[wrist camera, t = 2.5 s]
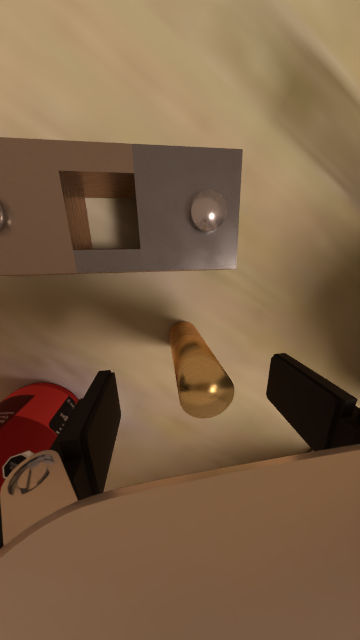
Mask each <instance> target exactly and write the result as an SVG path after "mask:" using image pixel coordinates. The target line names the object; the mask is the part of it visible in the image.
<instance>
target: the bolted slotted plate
mask: <svg viewBox="0 0 360 640" xmlns="http://www.w3.org/2000/svg"><path fill="white" fill-rule="evenodd" d="M242 151H243V149H225V148H205V147H185V146H165V145H144V144H124V143H104V142H84V141H63V140H43V139H23V138H3V137H0V276H23V275H57V274H92V273H127V272H162V271H196V270H224V269H236V260H237V242H238V224H239V205H240V187H241V169H242ZM85 198H136V201H137V213H138V225H139V237H140V249H113V250H93V249H92V243H91V236H90V230H89V223H88V217H87V210H86V204H85Z"/></svg>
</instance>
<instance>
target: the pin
mask: <svg viewBox="0 0 360 640" xmlns="http://www.w3.org/2000/svg"><path fill="white" fill-rule="evenodd" d="M169 338H170V344H171V350H172V356H173V363H174V369H175V375H176V381H177V387H178V394H179V400H180V404H181V406H182V408H183V410H184V411H185V412H186V413H188V414H189V415H191V416H193V417H196V418H210V417H214V416H216V415H218V414H220V413H222V412H223V411H224V410H225V409H226V408H227V407H228V406H229V405H230V403H231V402H232V400H233V397H234V386H233V383H232V381H231V379H230V378H229V376H228V375H227V373H226V372H225V371H224V369H223V368H222V366H221V365H220V363H219V362H218V360H217V359H216V357H215V356H214V354H213V353H212V351H211V350H210V348H209V347H208V345H207V344H206V343H205V341H204V340H203V338H202V337H201V335H200V334H199V332H198V331H197V329H196V328H195V326H194V325H193V324H191V323H189V322H179V323H177V324H175V325H174V326H173V327H172V328H171V330H170V333H169Z"/></svg>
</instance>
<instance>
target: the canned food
mask: <svg viewBox="0 0 360 640" xmlns="http://www.w3.org/2000/svg"><path fill="white" fill-rule="evenodd" d="M78 401H79V400H78V399H77V398H76V396H75V395H74V394H73V393H71V392H70V391H69V390H67V389H66V388H63V387H61V386H59V385H55V384H52V383H35V384H30V385H28V386H25V387H23V388H20V389H18V390H16V391H15V392H13V393H11V394H10V395H9V396H8V397H6V398H5V399H4V400H3V401H1V402H0V492H1V487H2V485H3V483H4V481H5V479H6V478H7V477H8V475H9V474H10V473H11V472H12V470H14V469H15V468H16V467H17V466H18V465H19V464H20V463H21V462H23V461H24V460H25V459H27V458H28V457H30V456H32V455H34V454H36V453H38V452H41V451H44V450H49V449H50V448H51V446H52V444H53V442H54V441H55V439H56V437H57V436H58V434H59V432H60V431H61V429H62V427H63V426H64V424H65V422H66V421H67V419H68V417H69V415H70V414H71V412H72V410H73V409H74V407H75V405H76V404H77V402H78Z"/></svg>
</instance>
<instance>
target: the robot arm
mask: <svg viewBox="0 0 360 640" xmlns="http://www.w3.org/2000/svg"><path fill="white" fill-rule="evenodd" d="M266 395H267V398H268V399H269V401H270V402H271V403H272V404H273V405H274V406H275V407H276V409H277V410H278V411H279V412H280V413H281V414H282V415H283V417H284V418H285V419H286V420H287V421H288V422H289V423H290V425H291V426H292V427H293V428H294V429H295V430H296V431H297V433H298V434H299V435H300V436H301V437H302V438H303V439H304V440H305V442H306V443H307V444H308V445H309V446H310V447H311V448H312V451H311V452H309V453H303V454H297V455H292V456H286V457H281V458H275V459H270V460H264V461H258V462H253V463H247V464H242V465H237V466H231V467H226V468H220V469H215V470H210V471H204V472H199V473H194V474H188V475H183V476H178V477H172V478H167V479H162V480H157V481H152V482H148V483H143V484H138V485H133V486H128V487H124V488H119V489H115V490H111V491H107V492H104V493H103V491H104V487H105V482H106V478H107V474H108V470H109V465H110V461H111V457H112V453H113V448H114V444H115V440H116V436H117V431H118V427H119V423H120V418H121V410H120V404H119V398H118V391H117V385H116V378H115V373H114V372H112V373H111V371H110V370H105V371H99V372H98V373H97V375H96V377H95V379H94V380H93V382H92V384H91V386H90V387H89V389H88V391H87V393H86V395H85V396H84V398H82V399H80V400H79V401H78V402H77V404H76V405H75V407H74V409H73V410H72V412H71V414H70V415H69V417H68V419H67V421H66V422H65V424H64V426H63V427H62V429H61V431H60V432H59V434H58V436H57V437H56V439H55V441H54V442H53V444H52V446H51V448H50V449H49V450H44V451H41V452H38V453H36V454H34V455H32V456H30V457H28V458H27V459H25V460H24V461H23V462H21V463H20V464H19V465H18V466H17V467H16V468H15V469H14V470H12V472H11V473H10V474H9V475H8V477H7V478H6V479H5V481H4V483H3V485H2V487H1V492H0V640H360V408H358V407H357V406H355V405H356V402H357V398H355V397H354V396H352V395H350V394H349V393H347V392H346V391H344V390H342V389H341V388H339V387H338V386H336V385H335V384H333V383H331V382H330V381H328V380H327V379H325V378H324V377H322V376H320V375H319V374H317V373H316V372H314V371H313V370H311V369H309V368H308V367H306V366H305V365H303V364H302V363H300V362H298V361H297V360H295V359H294V358H292V357H291V356H289V355H287V354H286V353H280V354H274V356H273V357H272V358H271V363H270V371H269V378H268V385H267V392H266Z"/></svg>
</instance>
